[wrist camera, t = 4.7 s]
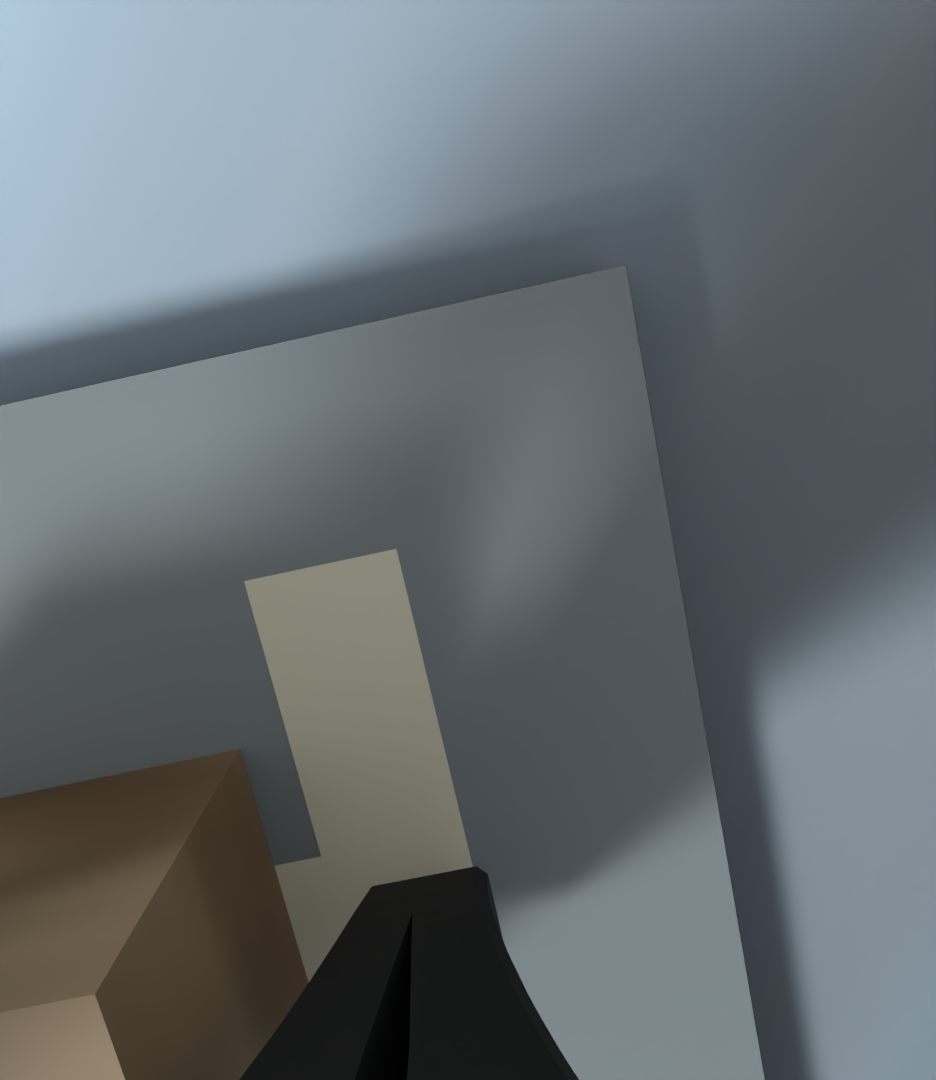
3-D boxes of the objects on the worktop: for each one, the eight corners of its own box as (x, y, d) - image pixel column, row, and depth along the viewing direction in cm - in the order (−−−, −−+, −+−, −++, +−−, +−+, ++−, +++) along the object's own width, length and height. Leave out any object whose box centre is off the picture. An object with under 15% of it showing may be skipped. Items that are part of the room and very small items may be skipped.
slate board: (610, 274, 10) (625, 265, 9) (774, 1215, 13) (800, 1287, 12) (-634, 555, 11) (-748, 573, 10) (-219, 1387, 13) (-274, 1469, 12)
